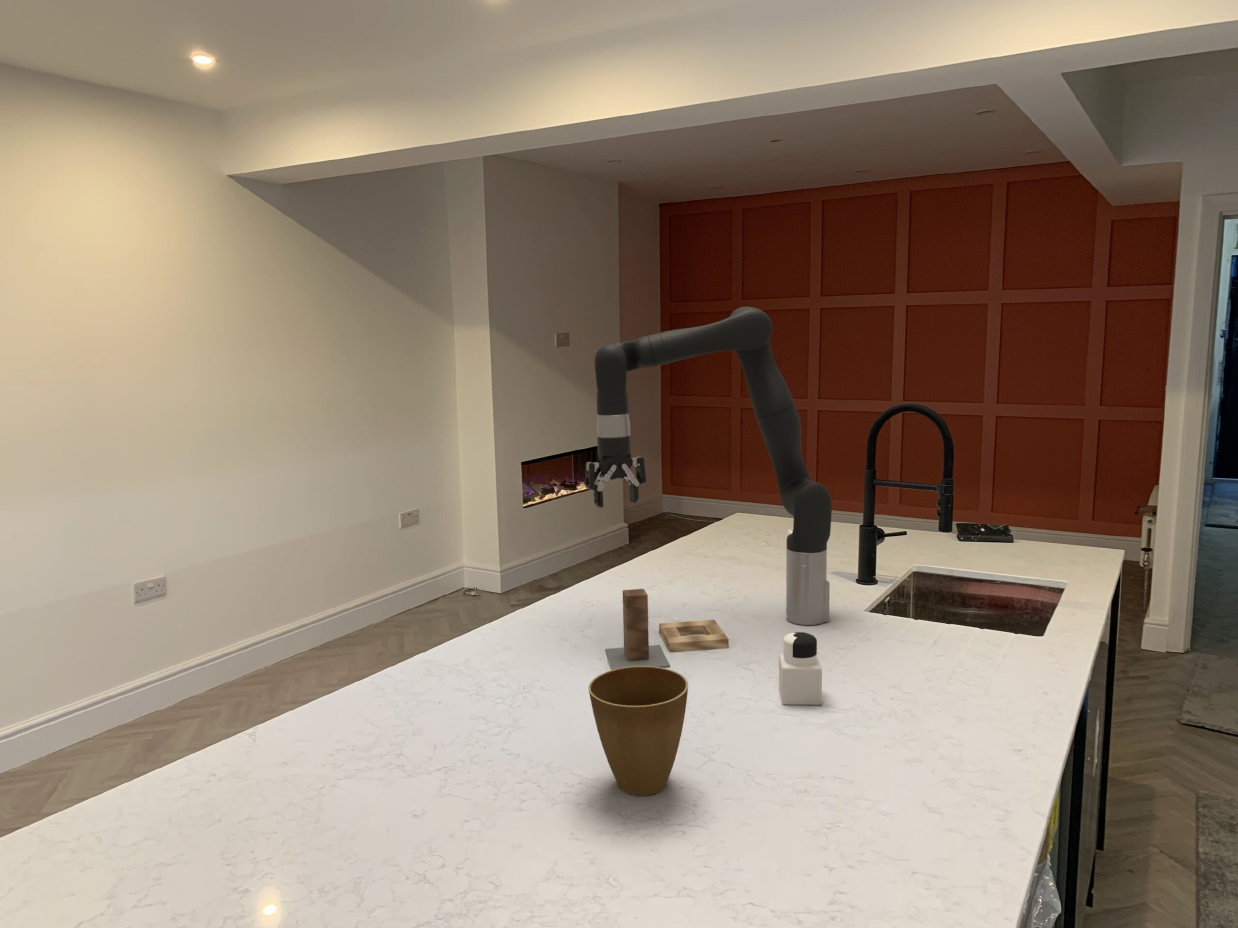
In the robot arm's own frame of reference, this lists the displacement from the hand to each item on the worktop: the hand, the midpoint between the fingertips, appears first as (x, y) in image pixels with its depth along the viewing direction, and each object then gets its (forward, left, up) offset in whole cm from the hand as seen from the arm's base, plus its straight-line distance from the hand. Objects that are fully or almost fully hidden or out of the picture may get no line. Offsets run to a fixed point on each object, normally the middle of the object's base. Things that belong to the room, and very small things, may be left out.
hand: (616, 504), depth 197 cm
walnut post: (-1, +19, -29) cm, 35 cm away
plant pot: (+6, +70, -30) cm, 77 cm away
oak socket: (-15, +10, -29) cm, 35 cm away
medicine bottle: (-28, +44, -30) cm, 60 cm away
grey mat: (-1, +19, -29) cm, 35 cm away
